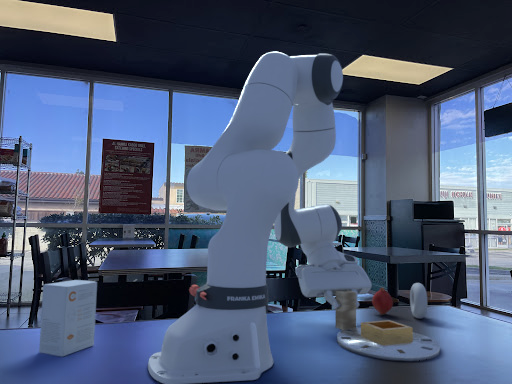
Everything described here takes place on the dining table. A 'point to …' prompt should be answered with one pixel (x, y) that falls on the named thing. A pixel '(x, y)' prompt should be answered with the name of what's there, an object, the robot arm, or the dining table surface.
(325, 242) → the robot arm
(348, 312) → the tall beige block
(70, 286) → the small box
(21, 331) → the dining table surface
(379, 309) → the onion
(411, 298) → the donut
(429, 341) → the slotted white disc
